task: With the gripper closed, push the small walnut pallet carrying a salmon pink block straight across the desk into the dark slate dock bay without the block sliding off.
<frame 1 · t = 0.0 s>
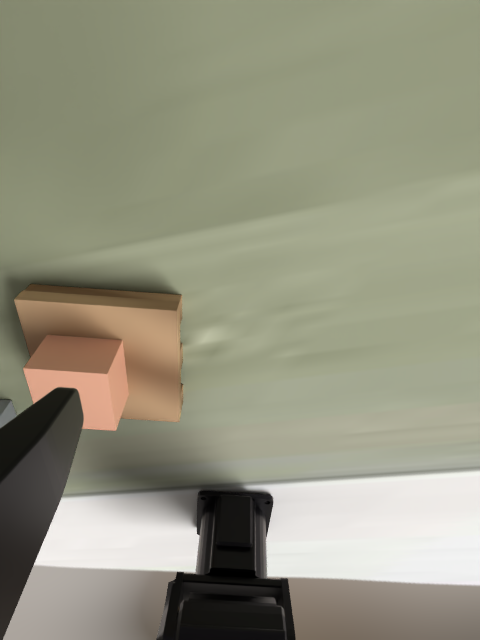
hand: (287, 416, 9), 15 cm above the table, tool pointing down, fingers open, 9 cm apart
pallet: (115, 345, 27), on the table, touching salmon pink block
salmon pink block: (90, 366, 25), point 2 cm above the table, touching pallet
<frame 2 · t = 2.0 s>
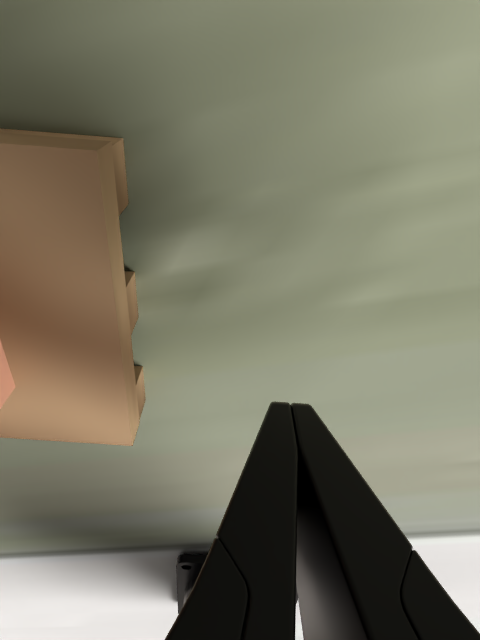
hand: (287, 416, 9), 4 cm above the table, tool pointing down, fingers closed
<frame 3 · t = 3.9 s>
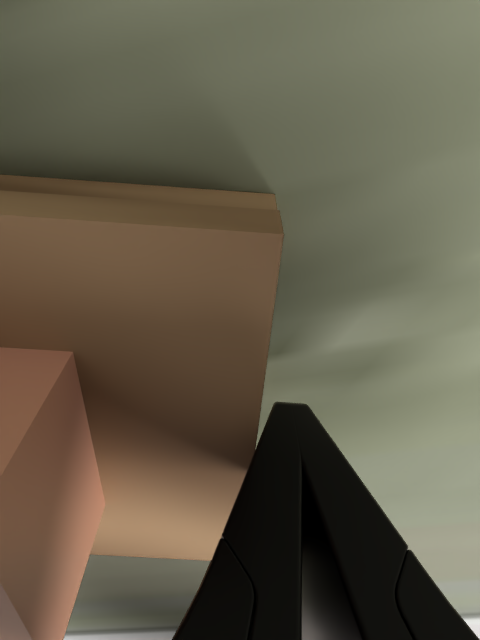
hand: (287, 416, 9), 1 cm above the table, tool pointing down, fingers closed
pallet: (68, 363, 10), on the table, touching salmon pink block, gripper
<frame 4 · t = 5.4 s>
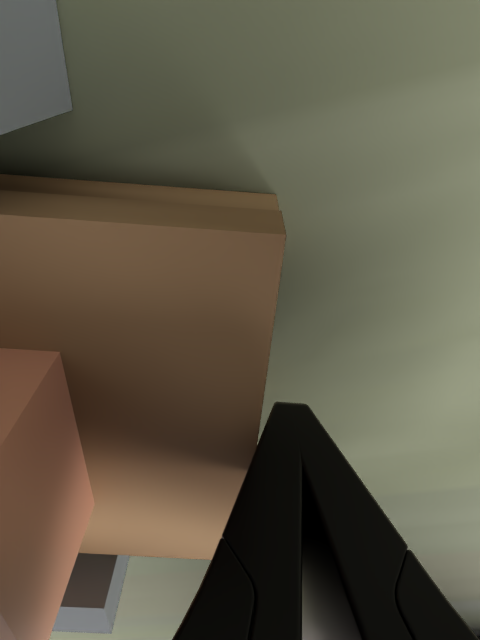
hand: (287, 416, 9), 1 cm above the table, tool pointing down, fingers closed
pallet: (68, 363, 10), on the table, touching salmon pink block, gripper
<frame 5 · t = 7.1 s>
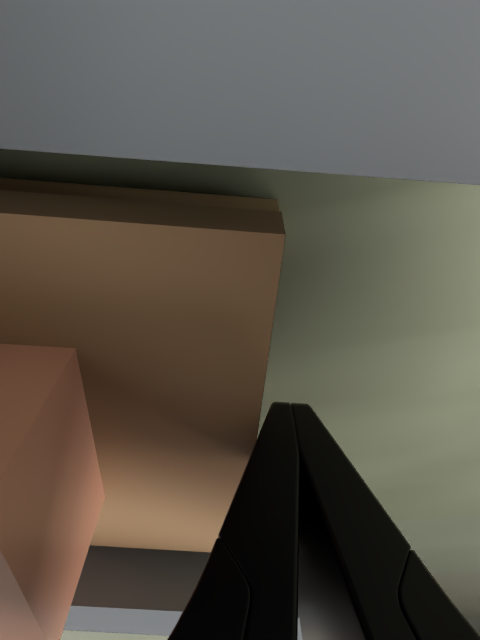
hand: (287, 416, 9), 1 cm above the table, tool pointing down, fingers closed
pallet: (74, 359, 10), resting in dock
dock: (103, 364, 10), on the table
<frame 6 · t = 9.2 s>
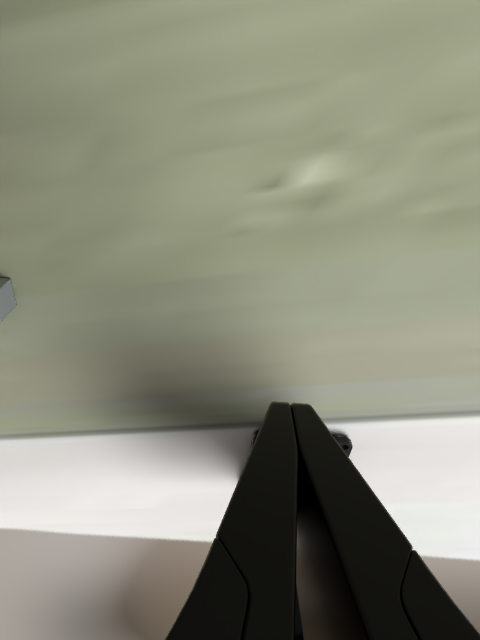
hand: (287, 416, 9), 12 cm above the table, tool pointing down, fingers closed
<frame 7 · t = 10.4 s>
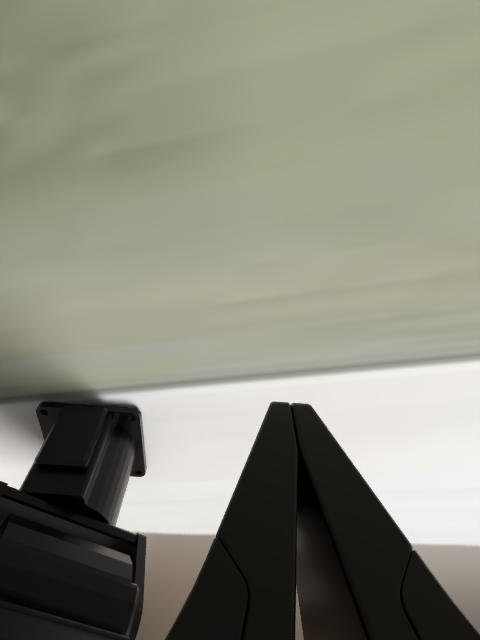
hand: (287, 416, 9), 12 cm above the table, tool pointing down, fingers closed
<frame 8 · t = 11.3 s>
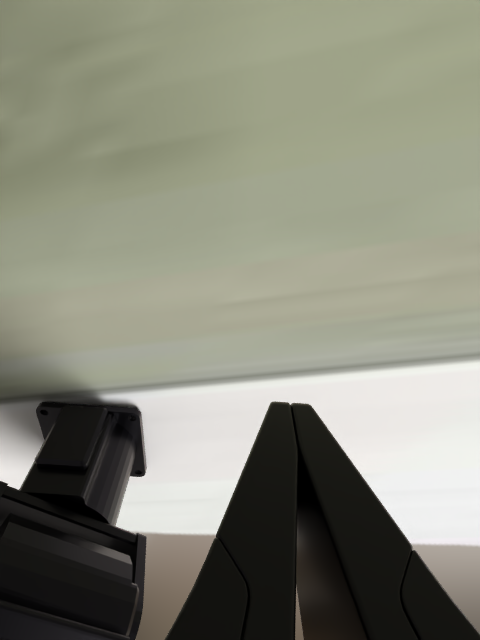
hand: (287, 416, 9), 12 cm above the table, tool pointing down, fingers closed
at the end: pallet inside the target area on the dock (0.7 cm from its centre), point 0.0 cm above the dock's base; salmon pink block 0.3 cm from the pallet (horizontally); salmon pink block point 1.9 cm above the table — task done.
